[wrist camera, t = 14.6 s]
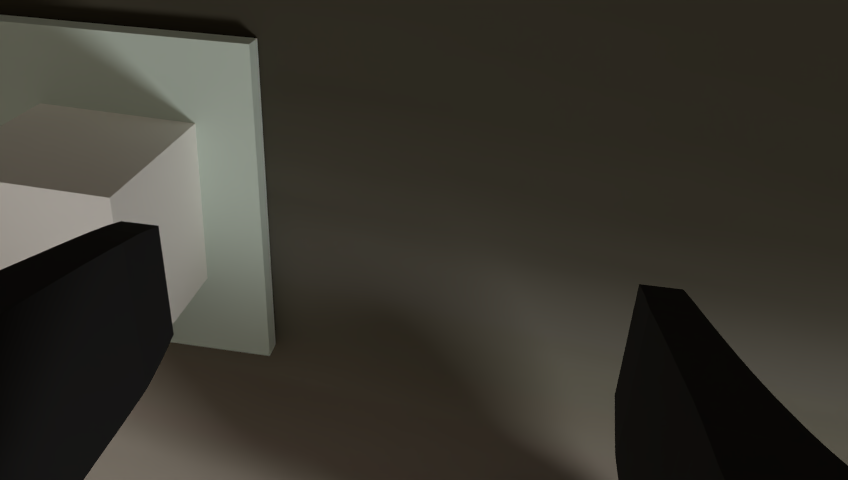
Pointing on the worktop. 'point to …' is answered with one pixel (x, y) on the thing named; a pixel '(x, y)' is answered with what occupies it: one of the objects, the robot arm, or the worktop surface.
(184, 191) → the plug
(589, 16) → the worktop surface
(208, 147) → the mat
